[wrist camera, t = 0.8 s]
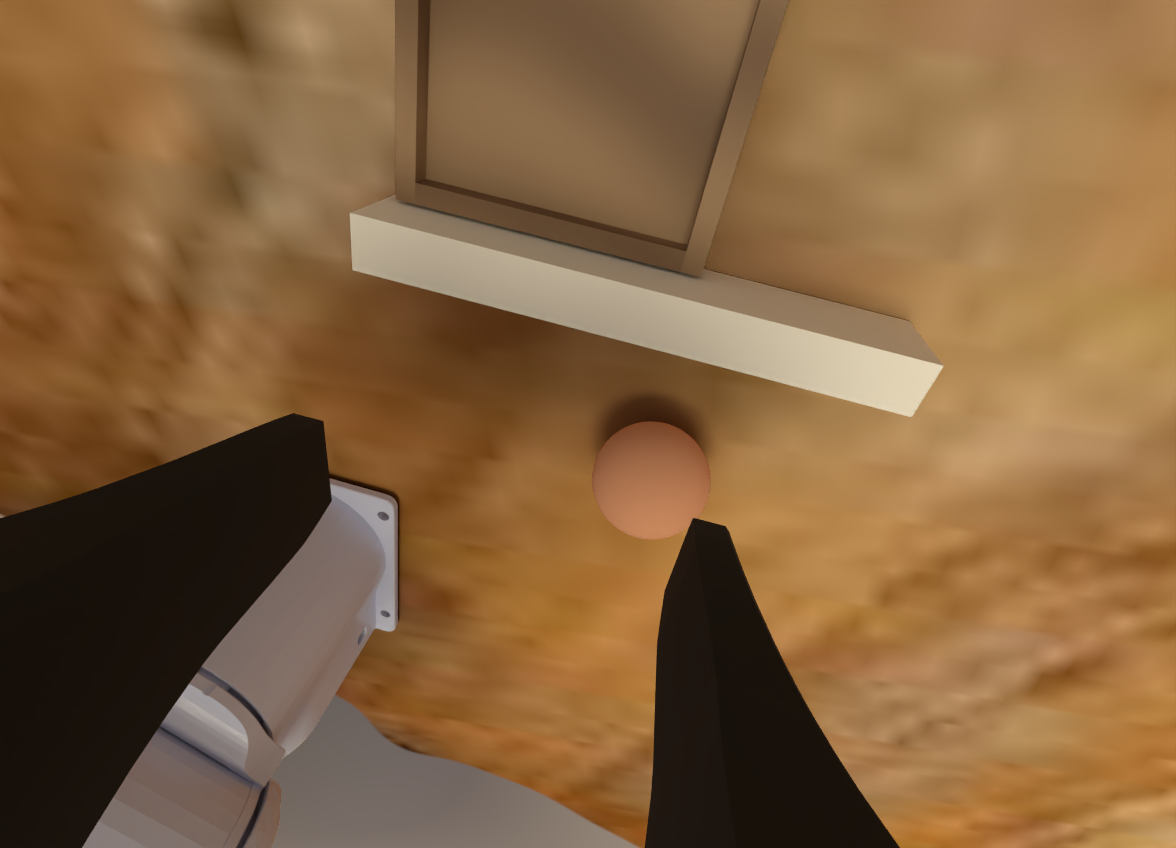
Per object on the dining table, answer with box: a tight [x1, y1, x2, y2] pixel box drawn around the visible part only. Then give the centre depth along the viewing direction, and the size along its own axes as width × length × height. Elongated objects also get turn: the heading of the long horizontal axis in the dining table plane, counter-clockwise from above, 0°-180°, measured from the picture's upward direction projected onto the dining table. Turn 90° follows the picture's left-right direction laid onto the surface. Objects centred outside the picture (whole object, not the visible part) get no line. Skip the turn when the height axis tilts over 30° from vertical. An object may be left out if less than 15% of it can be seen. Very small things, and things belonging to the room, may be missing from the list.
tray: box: [395, 0, 789, 277], centre depth 14 cm, size 9×9×1 cm
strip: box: [350, 195, 944, 417], centre depth 16 cm, size 2×16×3 cm, turn 79°
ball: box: [592, 421, 710, 539], centre depth 19 cm, size 4×4×4 cm
